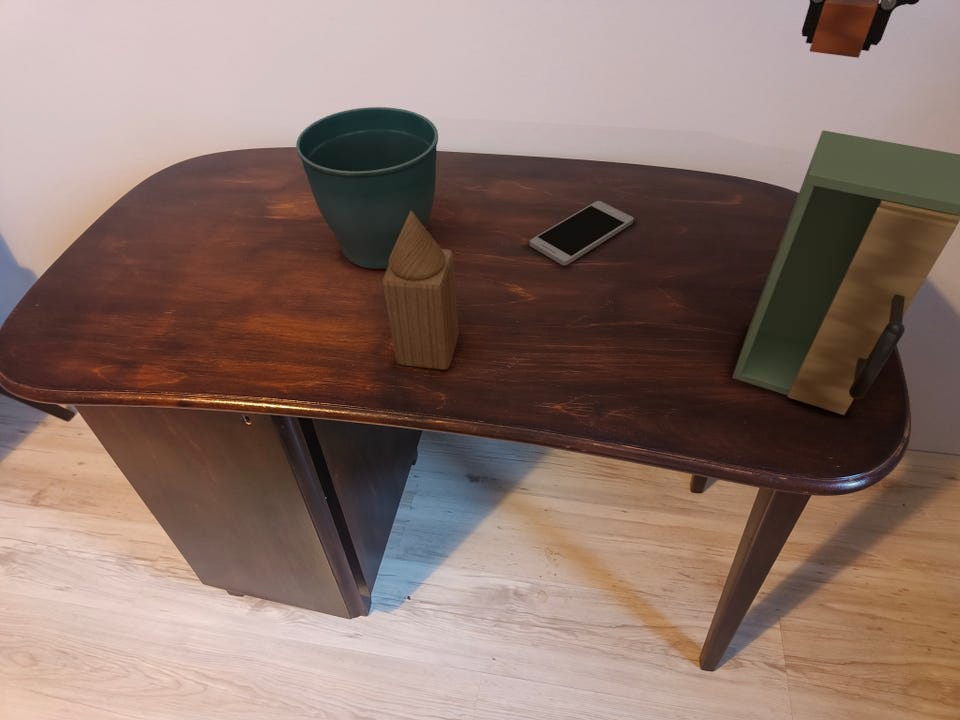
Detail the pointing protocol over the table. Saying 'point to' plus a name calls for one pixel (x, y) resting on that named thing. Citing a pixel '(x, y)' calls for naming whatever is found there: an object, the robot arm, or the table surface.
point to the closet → (836, 241)
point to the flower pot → (370, 176)
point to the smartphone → (581, 232)
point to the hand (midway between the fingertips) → (838, 43)
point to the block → (843, 27)
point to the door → (869, 308)
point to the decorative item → (421, 299)
